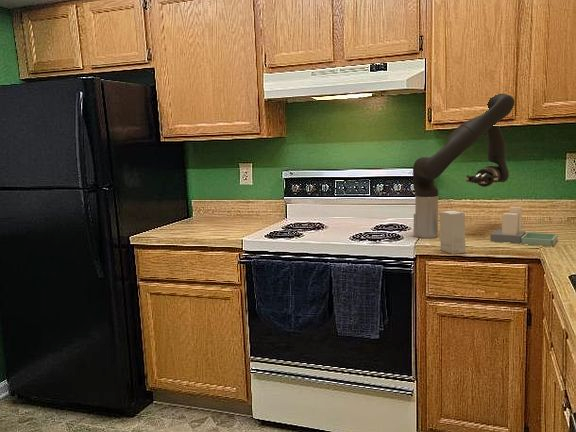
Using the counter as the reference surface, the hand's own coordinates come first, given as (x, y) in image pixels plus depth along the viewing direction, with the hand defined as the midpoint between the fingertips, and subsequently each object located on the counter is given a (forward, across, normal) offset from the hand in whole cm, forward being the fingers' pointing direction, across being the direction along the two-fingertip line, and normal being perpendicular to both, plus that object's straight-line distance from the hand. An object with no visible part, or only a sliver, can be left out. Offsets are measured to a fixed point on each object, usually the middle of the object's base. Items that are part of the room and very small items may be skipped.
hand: (476, 180), depth 207 cm
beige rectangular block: (-7, +14, +21) cm, 26 cm away
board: (-5, +12, +24) cm, 27 cm away
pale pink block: (-3, +12, +21) cm, 25 cm away
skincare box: (+24, -2, +24) cm, 34 cm away
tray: (-5, +23, +24) cm, 33 cm away
